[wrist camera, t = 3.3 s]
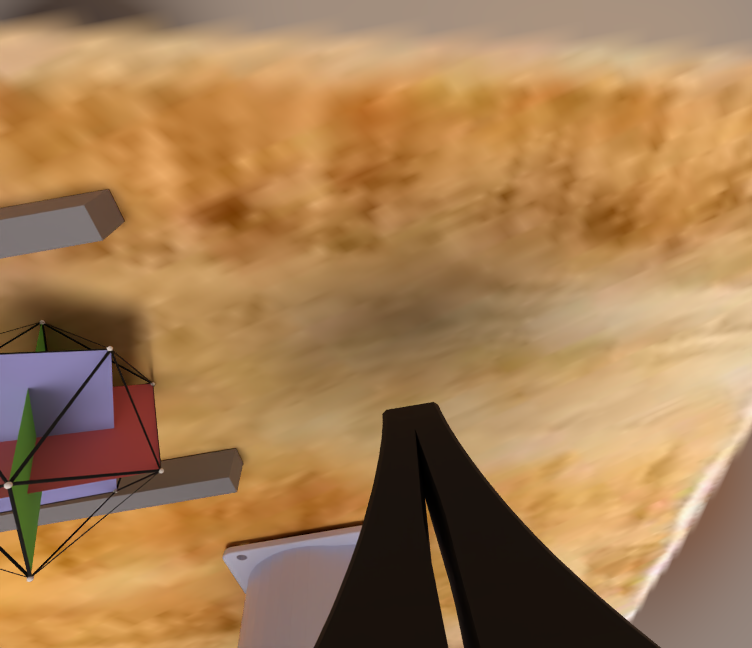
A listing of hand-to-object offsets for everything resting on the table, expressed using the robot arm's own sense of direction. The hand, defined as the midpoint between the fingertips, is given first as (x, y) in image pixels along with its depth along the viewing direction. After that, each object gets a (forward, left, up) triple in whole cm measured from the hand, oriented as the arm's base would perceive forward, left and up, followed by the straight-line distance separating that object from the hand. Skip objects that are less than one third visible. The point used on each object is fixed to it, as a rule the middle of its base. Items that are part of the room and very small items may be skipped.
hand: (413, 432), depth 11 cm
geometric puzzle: (+12, 0, -6) cm, 13 cm away
